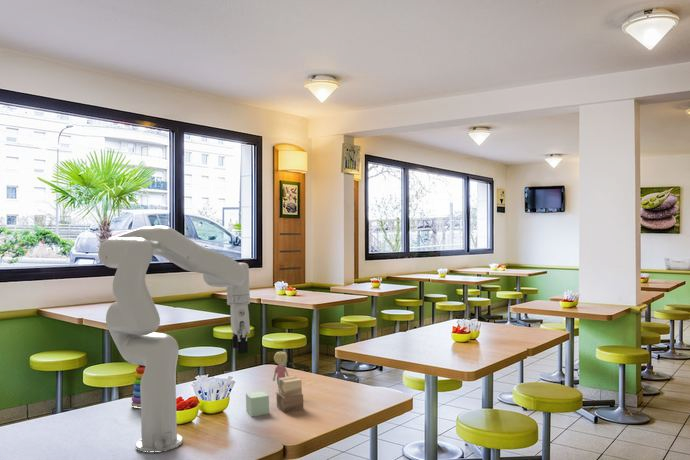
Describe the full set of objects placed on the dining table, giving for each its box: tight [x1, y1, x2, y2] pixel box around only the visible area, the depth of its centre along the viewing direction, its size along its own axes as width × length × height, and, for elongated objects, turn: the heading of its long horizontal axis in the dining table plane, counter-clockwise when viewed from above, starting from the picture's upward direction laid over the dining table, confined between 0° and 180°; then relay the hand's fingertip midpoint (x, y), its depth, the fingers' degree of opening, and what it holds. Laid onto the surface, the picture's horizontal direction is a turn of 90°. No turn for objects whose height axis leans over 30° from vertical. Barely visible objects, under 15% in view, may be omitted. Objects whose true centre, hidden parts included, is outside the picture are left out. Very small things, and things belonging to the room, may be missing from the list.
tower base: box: [275, 391, 305, 413], centre depth 188 cm, size 7×7×5 cm
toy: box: [272, 351, 290, 392], centre depth 208 cm, size 7×5×15 cm
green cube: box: [245, 390, 270, 417], centre depth 184 cm, size 6×6×6 cm
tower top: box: [278, 375, 303, 397], centre depth 188 cm, size 6×6×5 cm
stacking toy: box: [130, 365, 145, 407], centre depth 194 cm, size 8×8×19 cm
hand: (240, 350), depth 187 cm, fingers open, 9 cm apart
